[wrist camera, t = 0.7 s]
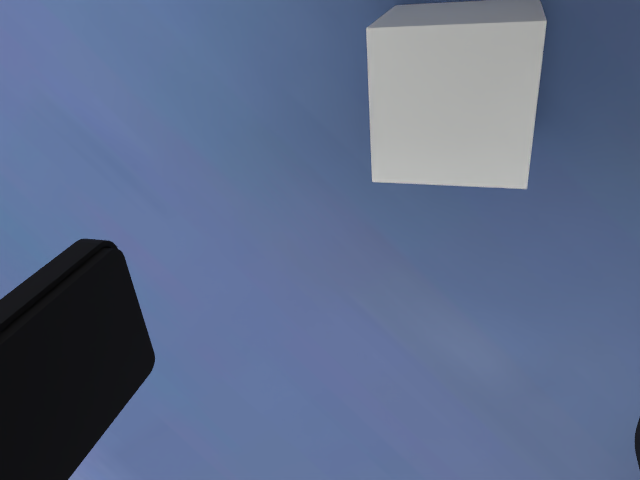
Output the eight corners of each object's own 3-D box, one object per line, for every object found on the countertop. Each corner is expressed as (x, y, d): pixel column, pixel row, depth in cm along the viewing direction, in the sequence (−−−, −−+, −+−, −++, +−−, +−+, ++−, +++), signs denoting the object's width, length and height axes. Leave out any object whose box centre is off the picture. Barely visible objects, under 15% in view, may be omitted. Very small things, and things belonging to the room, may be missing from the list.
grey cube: (539, -3, 22) (546, 20, 17) (524, 135, 25) (526, 189, 20) (395, 4, 24) (366, 27, 19) (397, 133, 27) (372, 181, 22)
